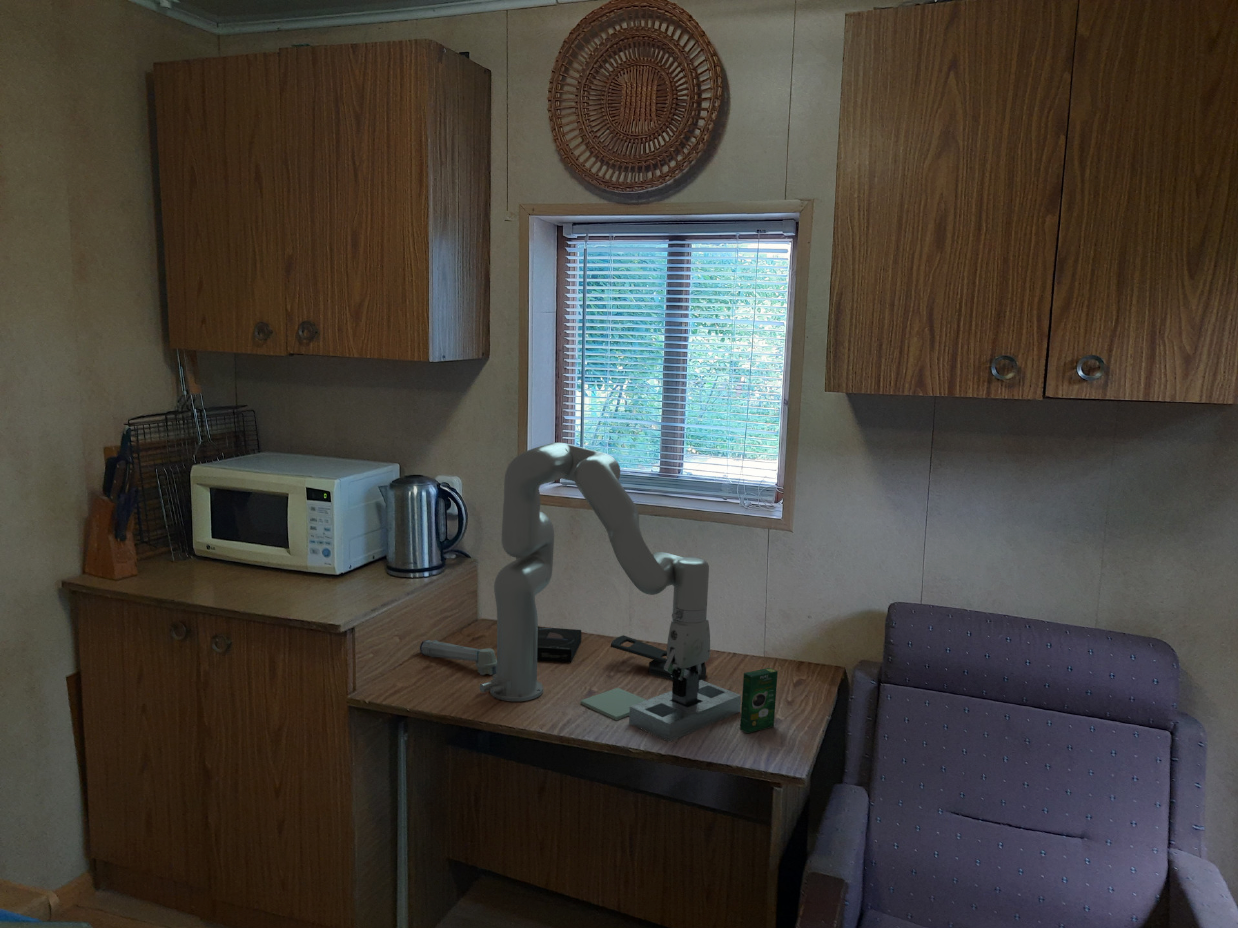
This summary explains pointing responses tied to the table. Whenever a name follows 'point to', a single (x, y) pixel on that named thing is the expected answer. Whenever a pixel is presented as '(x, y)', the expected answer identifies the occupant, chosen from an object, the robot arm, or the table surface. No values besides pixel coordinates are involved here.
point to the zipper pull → (650, 656)
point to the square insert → (688, 690)
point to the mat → (613, 703)
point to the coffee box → (758, 700)
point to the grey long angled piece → (462, 655)
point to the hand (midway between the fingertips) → (685, 691)
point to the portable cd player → (557, 644)
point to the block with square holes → (684, 712)
